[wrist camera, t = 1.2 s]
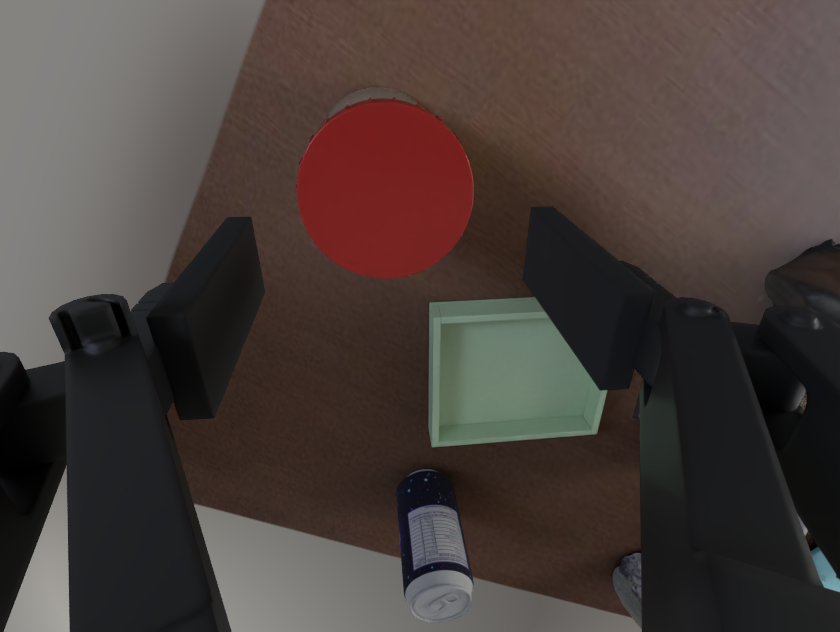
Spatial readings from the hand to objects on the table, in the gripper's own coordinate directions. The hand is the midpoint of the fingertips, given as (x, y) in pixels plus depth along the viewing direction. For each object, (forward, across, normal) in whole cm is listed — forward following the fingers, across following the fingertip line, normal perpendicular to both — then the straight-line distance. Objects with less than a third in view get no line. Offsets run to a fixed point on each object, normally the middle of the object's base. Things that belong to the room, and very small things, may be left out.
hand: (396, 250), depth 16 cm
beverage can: (+18, +3, -32) cm, 37 cm away
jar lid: (+7, 0, 0) cm, 7 cm away
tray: (+18, +11, -18) cm, 27 cm away
